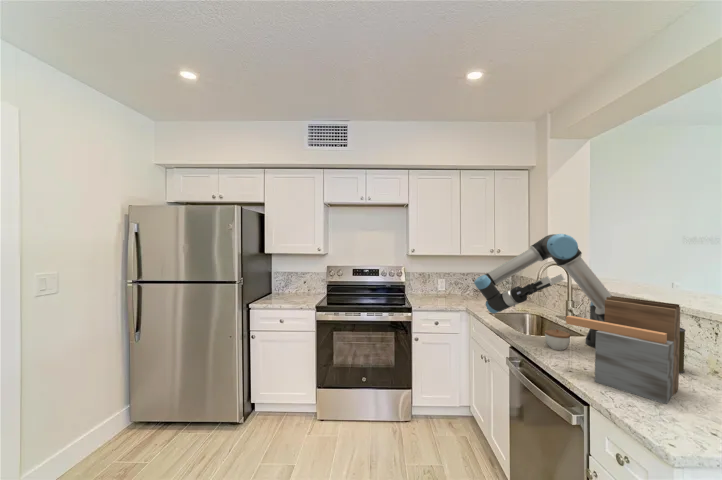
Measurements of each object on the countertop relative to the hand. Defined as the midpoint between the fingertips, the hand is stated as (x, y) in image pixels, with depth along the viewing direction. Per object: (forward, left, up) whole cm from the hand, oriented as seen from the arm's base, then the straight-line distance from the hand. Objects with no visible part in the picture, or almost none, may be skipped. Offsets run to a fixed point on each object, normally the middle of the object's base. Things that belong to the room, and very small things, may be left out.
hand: (556, 277), depth 142 cm
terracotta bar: (+5, +22, -18) cm, 28 cm away
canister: (-31, +31, -37) cm, 58 cm away
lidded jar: (-19, -7, -37) cm, 42 cm away
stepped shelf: (+1, +28, -37) cm, 46 cm away
